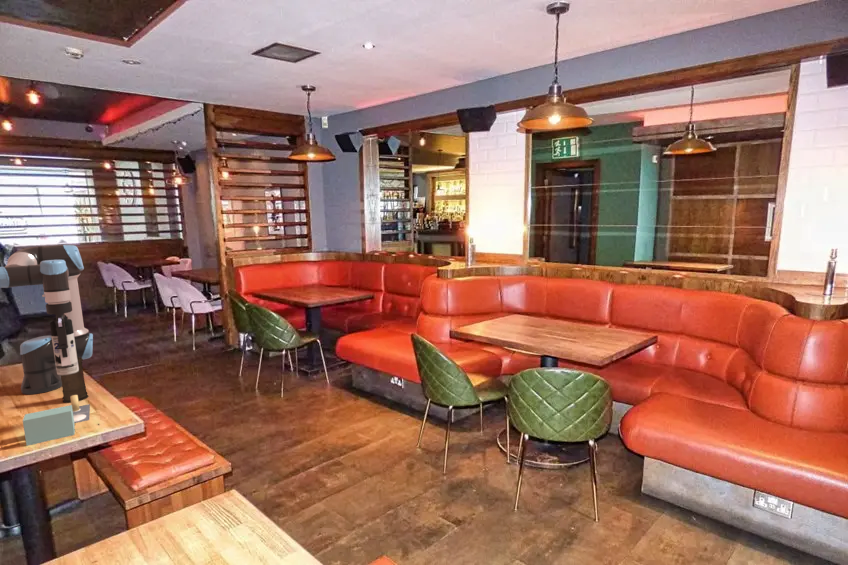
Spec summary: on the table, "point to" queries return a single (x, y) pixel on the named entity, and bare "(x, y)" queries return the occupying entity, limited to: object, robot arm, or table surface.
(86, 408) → the slate board
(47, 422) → the pale green block
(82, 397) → the container
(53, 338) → the spray can
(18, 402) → the table surface
